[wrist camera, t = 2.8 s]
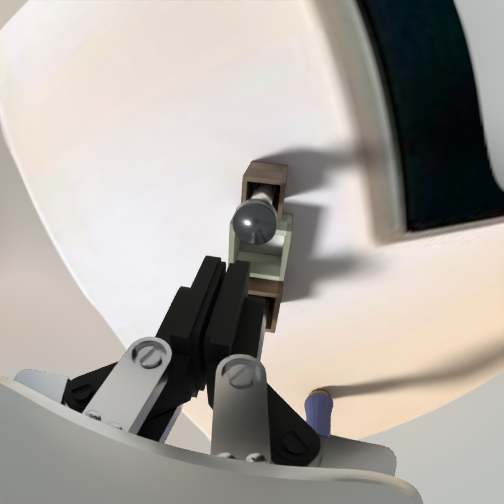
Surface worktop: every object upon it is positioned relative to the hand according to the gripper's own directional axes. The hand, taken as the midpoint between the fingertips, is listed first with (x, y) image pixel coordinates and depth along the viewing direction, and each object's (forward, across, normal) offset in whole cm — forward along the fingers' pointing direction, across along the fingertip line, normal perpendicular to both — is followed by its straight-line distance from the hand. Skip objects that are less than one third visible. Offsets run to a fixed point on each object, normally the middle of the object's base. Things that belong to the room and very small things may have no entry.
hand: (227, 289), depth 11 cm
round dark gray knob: (+12, 0, 0) cm, 12 cm away
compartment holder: (+14, 0, +5) cm, 15 cm away
